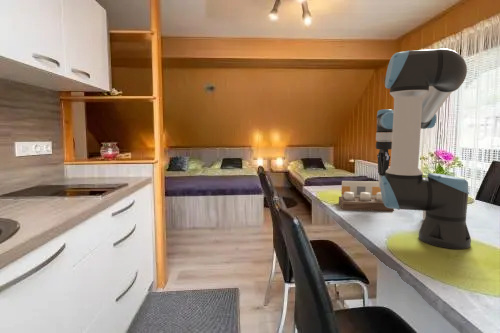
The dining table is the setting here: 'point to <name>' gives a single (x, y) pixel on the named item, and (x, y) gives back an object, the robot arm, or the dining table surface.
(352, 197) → the button
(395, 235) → the dining table surface
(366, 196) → the button
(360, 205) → the button board
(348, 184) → the pattern card
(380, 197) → the button
